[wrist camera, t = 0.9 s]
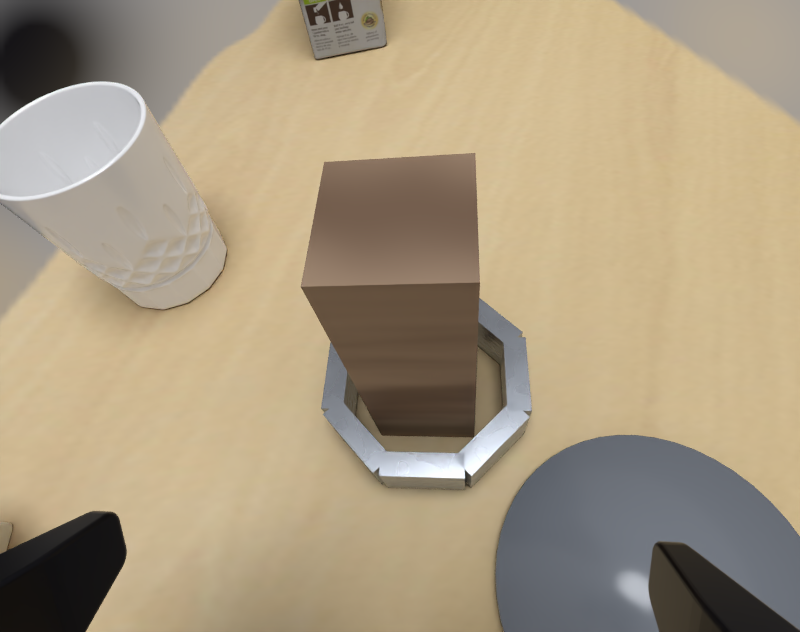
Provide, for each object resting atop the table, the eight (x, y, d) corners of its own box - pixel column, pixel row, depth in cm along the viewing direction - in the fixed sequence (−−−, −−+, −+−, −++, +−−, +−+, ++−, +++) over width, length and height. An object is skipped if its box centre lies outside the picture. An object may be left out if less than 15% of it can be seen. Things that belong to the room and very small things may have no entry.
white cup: (232, 204, 32) (147, 64, 24) (241, 298, 28) (142, 169, 20) (119, 236, 32) (-9, 106, 24) (111, 335, 28) (-45, 220, 19)
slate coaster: (841, 891, 14) (855, 902, 14) (457, 699, 18) (456, 702, 17) (828, 494, 19) (838, 491, 19) (533, 404, 23) (535, 400, 22)
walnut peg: (473, 437, 22) (479, 282, 11) (381, 435, 23) (300, 287, 12) (472, 352, 25) (475, 153, 13) (387, 352, 25) (324, 162, 14)
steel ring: (530, 492, 21) (538, 480, 19) (327, 485, 22) (312, 473, 20) (516, 311, 25) (520, 285, 23) (348, 314, 27) (337, 290, 25)
